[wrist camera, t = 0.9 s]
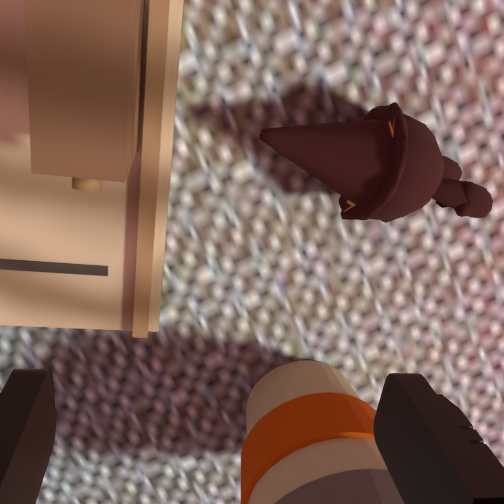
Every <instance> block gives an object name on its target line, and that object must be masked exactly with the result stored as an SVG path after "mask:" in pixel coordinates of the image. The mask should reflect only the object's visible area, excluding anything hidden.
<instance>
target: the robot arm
mask: <svg viewBox="0 0 504 504" xmlns="http://www.w3.org/2000/svg"><path fill="white" fill-rule="evenodd" d="M55 431H56V415H55V399H54V384H53V373H52V370H51V369H14V370H13V371H12V373H11V375H10V377H9V379H8V381H7V383H6V385H5V386H4V388H3V390H2V392H1V393H0V504H35V503H36V500H37V497H38V494H39V491H40V487H41V484H42V481H43V478H44V475H45V472H46V469H47V465H48V462H49V459H50V456H51V453H52V449H53V445H54V439H55ZM373 431H374V438H375V442H376V445H377V448H378V450H379V452H380V454H381V456H382V458H383V460H384V462H385V464H386V467H387V469H388V471H389V473H390V475H391V477H392V479H393V481H394V483H395V486H396V488H397V490H398V492H399V494H400V496H401V498H402V500H403V502H404V504H504V467H503V466H502V465H501V463H500V462H499V461H498V459H497V458H496V457H495V455H494V454H493V453H492V451H491V450H490V448H489V447H488V446H487V444H484V443H483V439H482V438H481V436H480V435H479V434H478V432H477V431H476V430H473V426H472V424H471V423H470V422H469V420H468V419H467V418H466V416H465V415H464V414H463V412H462V411H461V410H460V409H459V408H458V407H457V406H456V405H454V404H453V403H452V402H451V401H449V400H448V399H447V398H446V397H444V396H443V395H442V394H436V393H435V392H434V390H433V389H432V387H431V386H430V385H429V383H428V382H427V380H426V379H425V378H424V377H423V376H422V375H421V374H418V373H391V374H389V375H388V376H387V378H386V380H385V383H384V387H383V390H382V394H381V397H380V401H379V404H378V408H377V411H376V415H375V418H374V425H373Z"/></svg>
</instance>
